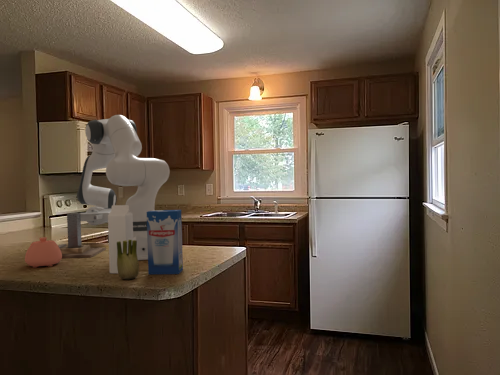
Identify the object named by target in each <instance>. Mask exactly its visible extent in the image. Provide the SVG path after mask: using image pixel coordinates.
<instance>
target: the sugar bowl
mask: <svg viewBox="0 0 500 375" xmlns="http://www.w3.org/2000/svg"><path fill="white" fill-rule="evenodd" d="M38 238H39V240H36V241H33V242H32V243H31V244H30V245H29V247H28V248H27V250H26V252H25V256H24V263H25V264H27V266H30V267H32V268H34V269H35V268H39V267H45V266H46V267H47V266H48V267H49V266H50V267H53V265H56V264H59V262H61V260H62V259H63V258H62V253H61V250H60V248H59V247H58V244H57V242H56V241H54V240H50V239H49V240H47V238H48V237H44V236H43V237H42V236H41V237H38Z"/></svg>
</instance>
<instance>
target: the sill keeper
mask: <svg viewBox="0 0 500 375" xmlns="http://www.w3.org/2000/svg"><path fill="white" fill-rule="evenodd" d="M57 245H58V244H57ZM81 246H82V247H80V248H68V243H61V244H59V245H58V247H59V248H60V250H61V253H62V259H70V258H71V259H74V258H75V259H79V258H93V257H95V256H97V255H99V254H100V253H103V252H104V251H106V249H107V248H106V247H91V244H81Z"/></svg>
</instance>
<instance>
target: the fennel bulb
mask: <svg viewBox="0 0 500 375" xmlns="http://www.w3.org/2000/svg"><path fill="white" fill-rule="evenodd" d="M136 250H137V241H136V240H130V239H129V240H128V254H127V241H126V240H125V241H123V253H122V248H121V241H118V242H117V269H118V273H117V274H118V275H119V277H120V279H123V280H134V279H135V278H137V277H138V275H139V271H140V268H139V267H140V266H139V260H138V259H137V251H136Z"/></svg>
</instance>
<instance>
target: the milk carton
mask: <svg viewBox="0 0 500 375" xmlns="http://www.w3.org/2000/svg"><path fill="white" fill-rule="evenodd" d="M182 221H183V220H182V209H163V210H162V209H161V210H160V209H159V210H157V209H156V210H152V211H148V212H147V243H148V260H147V272H148V275H180V274H181V272H183V270H184V261H183V259H184V256H183V231H182V230H183V224H182V223H183V222H182Z"/></svg>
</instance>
